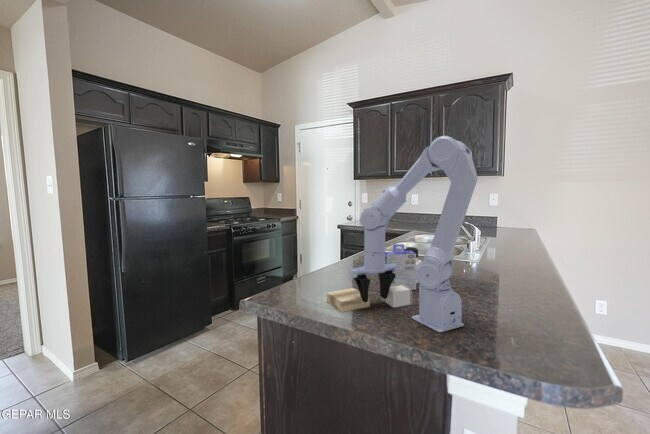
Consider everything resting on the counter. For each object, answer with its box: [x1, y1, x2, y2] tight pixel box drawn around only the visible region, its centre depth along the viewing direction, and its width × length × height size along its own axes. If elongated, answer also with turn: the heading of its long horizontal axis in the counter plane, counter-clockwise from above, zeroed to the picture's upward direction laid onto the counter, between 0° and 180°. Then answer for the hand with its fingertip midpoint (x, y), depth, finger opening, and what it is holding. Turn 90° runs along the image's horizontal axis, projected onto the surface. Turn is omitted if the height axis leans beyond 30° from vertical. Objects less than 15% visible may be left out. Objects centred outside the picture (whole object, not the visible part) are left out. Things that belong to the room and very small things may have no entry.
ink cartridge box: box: [385, 243, 417, 291], centre depth 102 cm, size 10×6×14 cm, turn 90°
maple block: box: [326, 287, 371, 313], centre depth 87 cm, size 9×9×3 cm
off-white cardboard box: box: [385, 285, 413, 308], centre depth 88 cm, size 5×5×6 cm
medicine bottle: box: [404, 246, 423, 285], centre depth 110 cm, size 7×7×12 cm
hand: (374, 299), depth 86 cm, fingers open, 6 cm apart
